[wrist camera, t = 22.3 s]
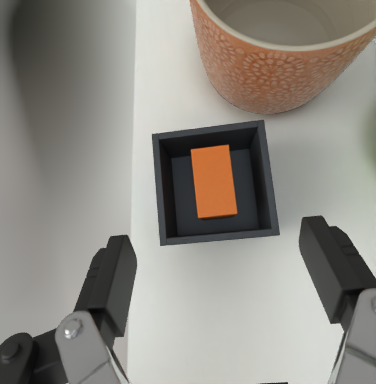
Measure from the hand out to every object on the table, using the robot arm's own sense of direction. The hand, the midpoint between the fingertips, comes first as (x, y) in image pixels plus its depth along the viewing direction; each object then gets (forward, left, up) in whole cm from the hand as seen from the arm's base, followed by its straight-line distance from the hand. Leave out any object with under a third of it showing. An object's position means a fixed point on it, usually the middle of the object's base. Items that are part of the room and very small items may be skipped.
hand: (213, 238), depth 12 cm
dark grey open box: (0, +6, -28) cm, 29 cm away
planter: (+10, +25, -28) cm, 39 cm away
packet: (0, +6, -27) cm, 28 cm away
